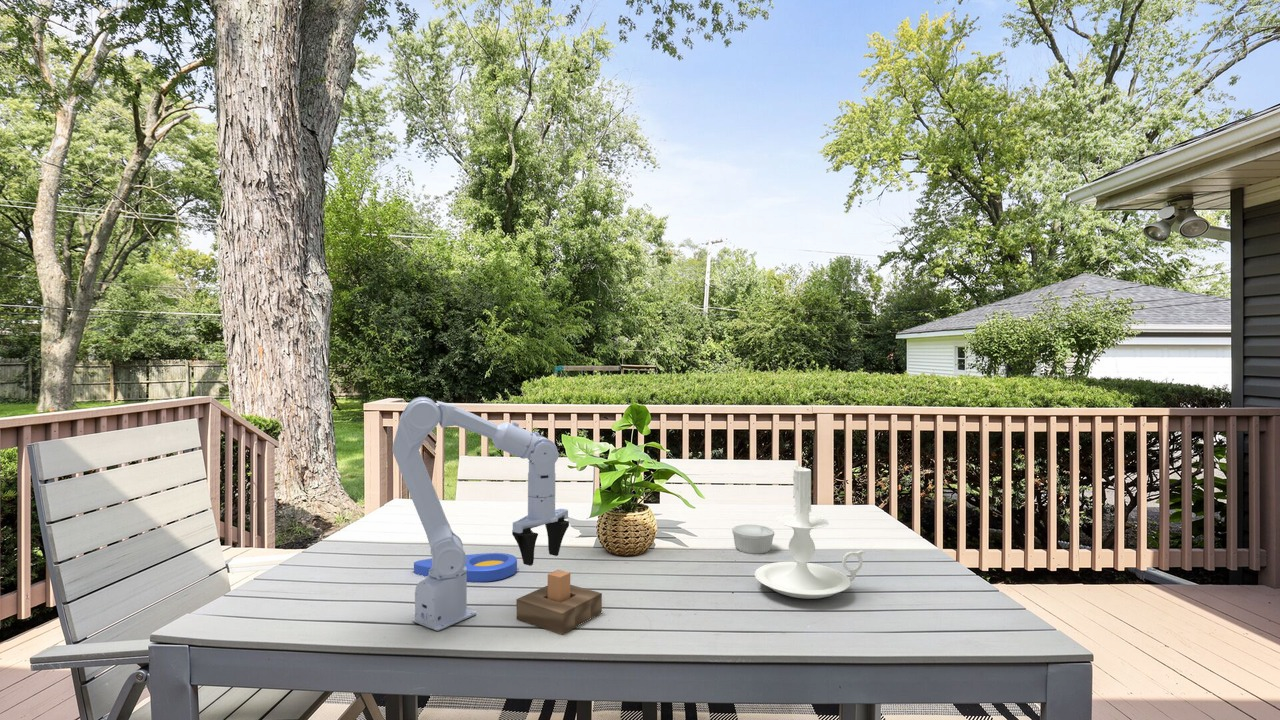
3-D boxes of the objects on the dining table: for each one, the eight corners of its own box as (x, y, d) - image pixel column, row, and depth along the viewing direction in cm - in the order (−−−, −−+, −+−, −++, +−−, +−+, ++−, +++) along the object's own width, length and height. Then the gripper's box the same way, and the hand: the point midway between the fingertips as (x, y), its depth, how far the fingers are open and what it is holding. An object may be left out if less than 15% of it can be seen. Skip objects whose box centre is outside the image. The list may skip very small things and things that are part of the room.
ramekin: (782, 552, 163) (782, 533, 163) (746, 557, 159) (746, 537, 159) (759, 541, 174) (759, 522, 174) (724, 545, 170) (725, 526, 170)
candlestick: (886, 607, 127) (887, 472, 127) (770, 611, 125) (771, 474, 125) (844, 572, 148) (844, 457, 148) (744, 576, 145) (744, 458, 145)
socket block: (562, 634, 114) (562, 613, 114) (516, 619, 121) (516, 599, 121) (601, 612, 124) (601, 593, 124) (557, 599, 131) (557, 581, 131)
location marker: (402, 584, 142) (509, 583, 141) (402, 569, 142) (509, 568, 141) (425, 565, 155) (522, 564, 154) (424, 551, 155) (522, 550, 154)
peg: (559, 618, 120) (559, 577, 120) (547, 614, 122) (547, 574, 122) (570, 612, 123) (570, 572, 123) (558, 608, 125) (558, 569, 125)
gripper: (530, 503, 120) (529, 573, 120) (578, 491, 132) (578, 554, 132) (505, 499, 124) (505, 566, 124) (554, 487, 136) (554, 548, 136)
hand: (541, 559), depth 128 cm, fingers open, 7 cm apart
